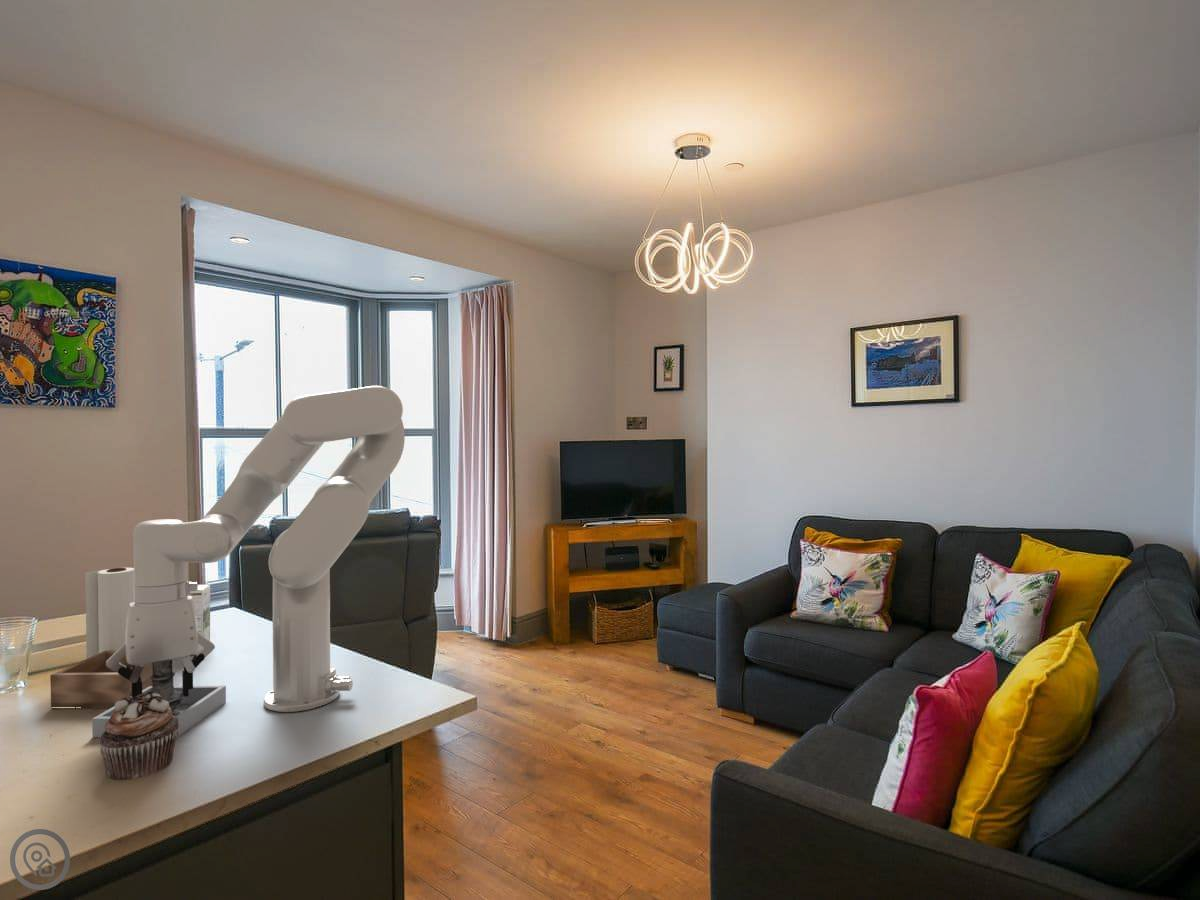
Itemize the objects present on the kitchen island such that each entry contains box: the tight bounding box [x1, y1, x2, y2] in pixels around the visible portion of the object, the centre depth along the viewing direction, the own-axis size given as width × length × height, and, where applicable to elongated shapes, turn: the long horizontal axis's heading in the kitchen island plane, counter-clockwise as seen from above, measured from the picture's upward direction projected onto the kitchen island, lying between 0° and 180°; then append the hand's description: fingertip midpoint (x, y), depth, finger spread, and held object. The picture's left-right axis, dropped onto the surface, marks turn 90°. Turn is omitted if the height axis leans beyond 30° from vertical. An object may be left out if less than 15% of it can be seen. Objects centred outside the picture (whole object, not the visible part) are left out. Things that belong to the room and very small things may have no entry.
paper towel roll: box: [85, 567, 135, 659], centre depth 131 cm, size 7×6×21 cm
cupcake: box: [98, 691, 180, 781], centre depth 95 cm, size 10×10×10 cm
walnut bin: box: [49, 651, 153, 709], centre depth 122 cm, size 13×13×6 cm
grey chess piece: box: [150, 660, 183, 716], centre depth 111 cm, size 6×6×12 cm
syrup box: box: [188, 584, 211, 656], centre depth 146 cm, size 6×6×14 cm
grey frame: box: [91, 685, 227, 738], centre depth 111 cm, size 14×14×3 cm
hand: (163, 697), depth 111 cm, fingers closed on grey chess piece, 5 cm apart
